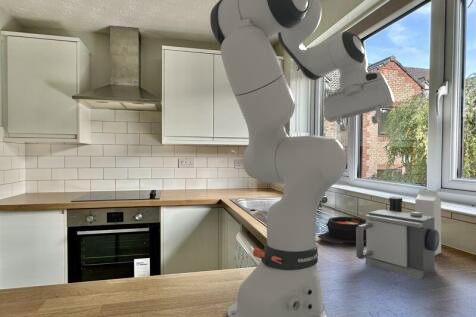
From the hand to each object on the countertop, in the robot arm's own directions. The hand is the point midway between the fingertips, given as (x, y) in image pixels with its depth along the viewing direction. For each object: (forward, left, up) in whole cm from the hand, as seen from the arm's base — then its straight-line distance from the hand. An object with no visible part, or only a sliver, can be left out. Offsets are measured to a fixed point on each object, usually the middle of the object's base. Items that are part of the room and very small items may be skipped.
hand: (359, 126), depth 89 cm
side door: (+5, -4, -41) cm, 42 cm away
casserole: (+26, +20, -43) cm, 54 cm away
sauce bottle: (+24, 0, -43) cm, 49 cm away
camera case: (+12, -6, -43) cm, 45 cm away
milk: (+35, -6, -43) cm, 56 cm away
